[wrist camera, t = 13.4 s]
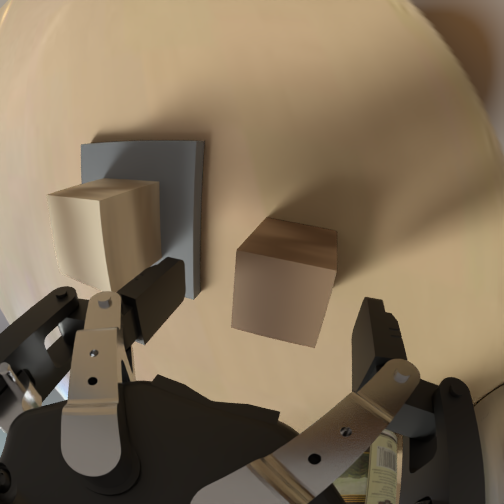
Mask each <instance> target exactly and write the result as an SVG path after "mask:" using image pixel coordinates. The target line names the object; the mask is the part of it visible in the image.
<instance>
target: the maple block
mask: <svg viewBox="0 0 504 504" xmlns="http://www.w3.org/2000/svg"><path fill="white" fill-rule="evenodd" d="M47 204H48V212H49V220H50V226H51V233H52V239H53V244H54V249H55V254H56V259H57V263H58V268H59V272H60V273H61V274H63V275H65V276H67V277H70V278H72V279H74V280H76V281H79V282H81V283H83V284H86V285H88V286H91V287H93V288H95V289H98V290H100V291H103V292H104V291H112V292H117V291H118V290H120V289H121V288H122V287H123V286H124V285H126V284H127V283H128V282H130V281H131V280H132V279H134V278H135V277H136V276H137V275H139V274H140V273H141V272H142V271H144V270H145V269H146V268H148V267H150V266H152V265H153V264H154V263H156V262H157V261H159V260H160V259H161V258H162V253H161V233H160V191H159V182H157V181H144V180H129V179H110V178H102V179H98V180H95V181H91V182H87V183H84V184H80V185H77V186H73V187H70V188H67V189H64V190H60V191H57V192H54V193H51V194H48V195H47Z"/></svg>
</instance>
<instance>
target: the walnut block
mask: <svg viewBox="0 0 504 504" xmlns="http://www.w3.org/2000/svg"><path fill="white" fill-rule="evenodd" d="M336 273H337V231H334V230H329V229H324V228H319V227H314V226H309V225H304V224H299V223H293V222H288V221H283V220H277V219H272V218H265V220H264V221H263V222H262V223H261V224H260V225H259V226H258V227H257V228H256V229H255V230H254V232H253V233H252V234H251V235H250V236H249V237H248V238H247V239H246V240H245V241H244V242H243V244H242V245H241V246H240V247H239V248H238V249H237V252H236V265H235V279H234V293H233V308H232V323H231V328H235V329H238V330H242V331H246V332H249V333H253V334H257V335H261V336H265V337H269V338H273V339H277V340H282V341H286V342H290V343H295V344H299V345H304V346H308V347H313V348H315V346H316V343H317V339H318V336H319V333H320V330H321V327H322V323H323V320H324V317H325V313H326V310H327V306H328V303H329V299H330V296H331V292H332V288H333V285H334V281H335V277H336Z"/></svg>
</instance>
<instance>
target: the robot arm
mask: <svg viewBox="0 0 504 504" xmlns="http://www.w3.org/2000/svg"><path fill="white" fill-rule="evenodd" d="M185 293H186V282H185V263H184V261H183V260H181V259H176V258H172V257H166V258H165V259H164V260H162V261H161V262H160V263H159V264H157V265H154V266H151V267H148V268H146V269H145V270H144V271H142V272H141V273H140V274H139V275H137V276H136V277H135V278H134V279H132V280H131V281H130V282H128V283H127V284H126V285H124V286H123V287H122V288H121V289H120V290H118V291H117V292H112V291H104V292H100V293H97V294H95V295H94V296H92V297H91V298H90V300H85V299H78V297H77V293H76V290H75V289H74V288H72V287H68V286H65V287H60V288H57V289H55V290H53V291H52V292H51V293H49V294H48V295H47V296H45V297H44V298H43V299H42V300H40V301H39V302H38V303H37V304H35V305H34V306H33V307H31V308H30V309H29V310H28V311H27V312H25V313H24V314H23V315H22V316H20V317H19V318H18V319H17V320H16V321H14V322H13V323H12V324H11V325H10V326H9V327H7V328H6V329H5V330H4V331H3V332H2V333H1V334H0V428H1V429H2V430H3V431H4V432H5V433H7V438H6V443H5V446H4V449H3V452H2V455H1V457H0V504H346V502H345V501H344V499H343V498H342V496H341V495H340V493H339V492H338V490H337V489H336V487H335V485H334V484H333V482H334V481H335V480H336V479H337V478H338V477H339V476H340V475H342V474H343V473H344V472H345V471H346V470H347V469H348V468H349V467H350V466H351V465H352V464H353V463H354V462H355V461H356V460H357V459H358V458H359V457H360V456H361V455H362V454H363V453H364V452H365V451H366V450H367V449H368V447H369V446H370V445H371V444H372V443H373V442H374V441H375V440H376V439H377V437H378V436H379V435H380V434H381V433H382V432H383V430H384V429H387V430H389V431H392V432H395V433H398V434H401V435H403V458H402V478H401V490H400V500H399V504H504V385H502V386H501V387H499V388H497V389H496V390H494V391H493V392H491V393H490V394H489V395H487V396H486V397H485V398H483V399H482V400H481V401H480V402H479V403H478V404H476V405H475V406H474V407H473V402H472V398H471V395H470V391H469V389H468V387H467V386H466V384H465V383H464V382H462V381H461V380H459V379H457V378H454V377H448V378H445V379H444V380H443V381H442V382H441V383H440V384H439V386H438V385H435V384H433V383H430V382H427V381H424V380H422V379H420V373H419V371H418V369H417V368H416V367H415V366H414V365H413V364H412V363H411V362H409V361H407V357H406V352H405V348H404V344H403V340H402V338H401V337H402V336H401V332H400V328H399V325H398V321H397V320H396V319H395V317H394V316H393V315H392V314H391V313H387V312H385V308H384V304H383V301H382V300H381V299H375V298H369V297H365V298H364V300H363V302H362V305H361V308H360V311H359V314H358V317H357V320H356V323H355V325H354V329H353V333H352V392H351V393H350V394H349V395H347V396H346V397H345V398H344V399H343V400H342V401H341V402H339V403H338V404H337V405H336V406H335V407H334V408H332V409H331V410H330V411H329V412H328V413H326V414H325V415H324V416H323V417H321V418H320V419H319V420H318V421H316V422H315V423H314V424H313V425H311V426H310V427H309V428H307V429H306V430H305V431H303V432H302V433H301V434H299V433H298V432H297V431H295V430H294V429H293V428H291V427H290V426H288V425H286V424H284V423H282V422H280V421H278V418H279V414H280V412H279V411H275V410H270V409H266V408H261V407H257V406H253V405H249V404H238V403H225V402H215V401H211V400H209V399H207V398H206V397H204V396H202V395H201V394H199V393H197V392H196V391H194V390H192V389H191V388H189V387H188V386H186V385H185V384H182V383H179V382H176V381H174V380H171V379H169V378H166V377H163V376H161V375H158V374H157V376H156V377H155V379H154V380H153V381H136V377H135V368H134V356H133V347H132V344H133V343H134V342H135V341H136V342H138V343H141V344H143V345H145V344H146V343H147V342H148V341H149V340H150V338H151V337H152V336H153V335H154V334H155V333H156V332H157V330H158V329H159V328H160V327H161V326H162V325H163V323H164V322H165V321H166V320H167V319H168V318H169V317H170V315H171V314H172V313H173V312H174V311H175V310H176V309H177V307H178V306H179V305H180V304H181V303H182V301H183V300H184V297H185ZM56 326H58V327H59V330H60V332H61V335H62V336H61V337H60V338H59V339H58V340H56V341H55V342H54V343H53V344H52V345H51V346H50V347H49V348H48V349H47V350H46V348H45V345H44V340H45V338H46V336H47V335H48V334H49V333H50V332H51V331H52V330H53V329H54V328H55V327H56ZM70 369H71V370H70ZM69 370H70V379H69V390H68V400H65V401H61V402H58V403H53V404H50V405H45V406H41V404H42V402H43V401H44V400H45V398H46V397H47V396H48V395H49V394H50V392H51V391H52V390H53V389H54V388H55V387H56V385H57V384H58V383H59V382H60V381H61V380H62V378H63V377H64V376H65V375H66V374H67V373H68V372H69Z"/></svg>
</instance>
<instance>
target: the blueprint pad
mask: <svg viewBox="0 0 504 504" xmlns="http://www.w3.org/2000/svg"><path fill="white" fill-rule="evenodd" d="M204 142H205V141H188V140H142V141H117V142H102V143H90V144H82V145H81V178H82V184H84V183H87V182H91V181H95V180H98V179H102V178H110V179H129V180H144V181H157V182H159V191H160V233H161V253H162V258H161V259H160V260H159V261H157V262H156V263H154V264H153V265H152V266H154V265H157V264H159V263H160V262H161V261H162V260H164V259H165V258H166V257H172V258H176V259H181V260H183V261H184V263H185V282H186V293H185V297H186V298H190V299H193V300H194V299H195V298H196V297H197V295H198V294H199V293H200V235H201V199H202V176H203V158H204ZM150 267H151V266H150Z"/></svg>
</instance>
